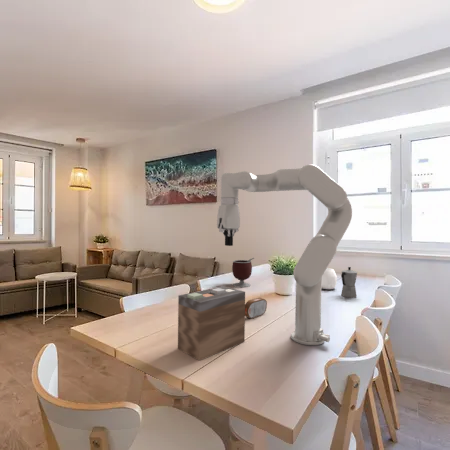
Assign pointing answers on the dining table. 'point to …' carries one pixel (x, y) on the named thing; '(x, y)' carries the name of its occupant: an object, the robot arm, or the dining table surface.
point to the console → (211, 322)
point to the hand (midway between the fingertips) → (228, 245)
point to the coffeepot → (349, 283)
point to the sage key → (194, 296)
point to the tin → (255, 307)
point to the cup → (329, 279)
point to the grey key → (218, 291)
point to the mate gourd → (242, 271)
